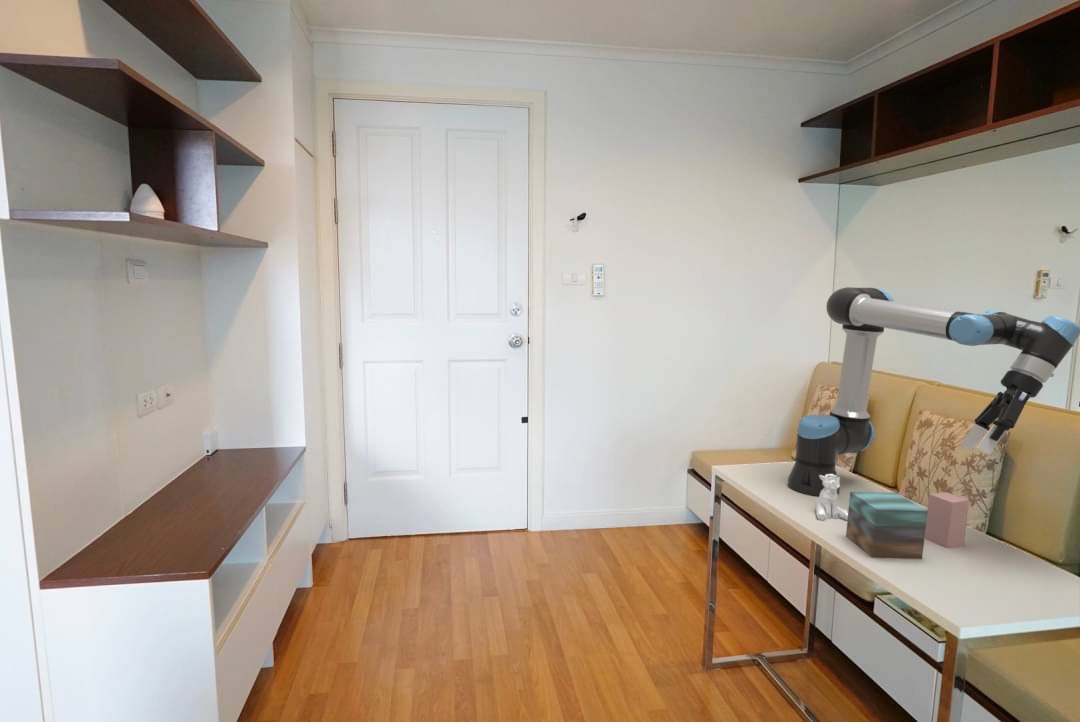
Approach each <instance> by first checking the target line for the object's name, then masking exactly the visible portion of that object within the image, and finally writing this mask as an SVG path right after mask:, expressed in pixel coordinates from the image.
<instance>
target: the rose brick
mask: <svg viewBox="0 0 1080 722" xmlns="http://www.w3.org/2000/svg"><path fill="white" fill-rule="evenodd" d="M969 505H970V499H967V498H965V497H962V496H958V495H957V494H956V495H955V494H953V493H950V492H947V491H943V492H936V493H935V492H934V493H929V494H928V502H927V509H926V510H927V511H928V513H927V521H926V530H925V538H924V540H927V541H929V542H931V543H934V544H936V545H938V546H941V547H942V548H945V549H953V548H957V547H962V546H965V536H966V528H967V523H968V516H969V514H968V513H969Z"/></svg>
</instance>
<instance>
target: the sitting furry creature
mask: <svg viewBox="0 0 1080 722" xmlns="http://www.w3.org/2000/svg"><path fill="white" fill-rule="evenodd" d="M819 477H820V479H821V480H822V481H823V482H822V484H823V486H824V487H825V488H823V490H821V493H820V496H818V498H817V499H816V502H815V510H816V511H815V512H816V516H817V519H818V520H820V521H823V520H825V519H839V518H842V520H844V519H845V520H844V521H848V510H847V509H844V508H841V507H840V505H839V504H838V500H839V497H838V496H839V494H837V489H838V488H839V487H840V488H841V484H840V481H841V480H840V479H841V477H840V476H839V477H838V475H837V476H836V475H834V474H826V475H825V476H822V475H819Z"/></svg>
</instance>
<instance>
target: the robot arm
mask: <svg viewBox="0 0 1080 722" xmlns="http://www.w3.org/2000/svg"><path fill="white" fill-rule="evenodd" d="M825 307H826V308H825V309H826V313H827V315H828V316H829V318H830V319H831V320H832V321H833V322H834V323H837V324H839V325H842V327H841V329H842V331H844V333H845V334H846V336H845V344H844V351H843V356H842V364H841V370H840V377H839V381H838V382H839V383H838V390H837V396H836V404H835V406H833V407H832V408H830V410H829V415H828V414H822V413H821V414H809V415H805V416H803V417H801V418H800V420H799V421H798V425H797V426H798V427H797V429H796V430H797V437H796V450H795V451H796V452H795V463H794V465H793V467H792V469H791V470H790V473H789V475H788V478H787V486H788V487H789V488H790V489H792V490H793V491H795V492H799V493H801V494H805V495H809V496H814V497H815V496H816V497H819V496H820V493H821V490H823V488H825V487H824V486H823V484H822V482H823V481H822V480H821V479H820V477H819V475H822V476H825V475H826V474H834V475H836V476H837V477H838V475H837V470H836V466H837V465H836V463H837V456H839V455H845V454H846V455H847V454H856V453H859V452H862V451H865V450H867V449H868V448H869V447H871V445H872V444H873V443H874V440H875V437H876V433H875V427H874V426H873V423H872V422H871V421H870V419H871V415H870V414H869V412H868V411H867V402H868V396H869V392H870V391H869V390H870V384H871V378H872V372H873V367H874V366H873V364H874V358H875V352H876V346H877V339H878V337H879V336H881V335H882V334H883V333H884V331H885V329H890V330H896V331H901V332H906V333H911V334H917V335H922V336H928V337H933V338H937V339H942V340H943V339H944V340H949V341H953V342H956V343H957V344H959V345H962V346H970V347H971V346H972V347H974V346H975V347H976V346H983V345H985V346H986V345H1002V346H1003V345H1004V346H1007V347H1010V348H1013V349H1014V348H1015V349H1017V350H1020V351H1021V352H1020V353H1019V354H1018V355H1017V357H1016V359H1015V360H1014V361H1013V363H1012V364H1011V366H1010V370H1008V371H1007V372H1006V373H1005V374H1004V376H1002V379H1001V380H1000V384H1001V386H1002V387H1005V388H1006V389H1005V391H1004V392H1002V391H999V392H997V395H995V397H994V398H993V399H992V400H991V402H990V403H989V404H988V405H987V406H985V408H984V409H983V411H981V412H980V414H979V415H978V416H977V417H976V418H975V419H974V425H973V426H972V428H971V429H970V431H968V433H967V435H966V436H965V437H964V438H963V440H962V441H961V443H960V444H959V446H961V447H964V448H965V449H967V450H969V451H970V452H972V451H973V450H975V447H976V449H978V450H980V451H981V452H983V453H986V454H987V455H991V453H992V452H993V451H994V449H995V448H996V447H997V445H998V444H999V443H1000V441H1001V439H1002V438H1003V437H1004V435H1005V434H1006V433H1007V432H1008V431H1009V430H1010V429H1014V428H1015V426H1016V424H1017V422H1018V419H1019V418H1020V415H1021V414H1022V411H1023V409H1024V408H1025V406H1026V404H1027V402H1028V401H1029V399H1032V398H1036V397H1037V396H1038V394H1039V393H1040V391H1041V390H1042V389H1043V387H1044V385H1043V384H1044V383H1047V381H1048V380H1049V379H1050V378H1054V376H1055V374H1054V371H1055V370H1056V369H1057V368H1058V366H1059V364H1060V363H1061V362H1062V361H1063V359H1064V358H1065V357H1066V355H1067V354H1068V353H1069V351H1071V349H1072V348H1073V347H1074V346H1075V343H1076V341H1077V340H1078V338H1079V337H1080V326H1079V324H1077V323H1076V322H1074V321H1072V320H1070V319H1068V318H1065V317H1061V316H1056V315H1055V316H1054V315H1048V316H1046V317H1045V318H1044V319H1043V320H1042V321H1034V320H1030V319H1026V318H1023V317H1019V316H1015V315H1013V314H1010V313H1007V312H1005V311H998V310H993V309H991V310H986V311H985V312H983V313H972V312H966V311H959V310H958V311H957V310H952V309H945V308H944V309H943V308H937V307H931V306H930V307H929V306H923V305H917V304H911V303H904V302H899V301H894V298H893V297H892V295H890V293H889V292H887V291H885V290H884V289H880V288H875V287H854V286H853V287H849V286H847V287H842V288H838V289H837V290H835V291H834V292H833V293H831V294H830V296H829V297H828V300H827V302H826V306H825ZM990 425H992V426H991V427H990ZM983 436H984V437H983ZM978 443H979V444H978ZM840 489H841V486H840V487H839V488H838V489H837V495H839V494H840Z"/></svg>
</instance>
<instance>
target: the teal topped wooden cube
mask: <svg viewBox="0 0 1080 722" xmlns="http://www.w3.org/2000/svg"><path fill="white" fill-rule="evenodd" d="M847 512H848V521H847V520H846V521H847V523H846V530H845V536H846V537H847V538H848V539H849V540H850V539H851V541H852V543H853V544H855V545H857V546H858V547H859V548H860V549H861V548H862V549H863V550H862V549H861V550H862V551H864V552H865V553H866V554H867V555H868V556H869V557H871V558H880V559H881V558H883V559H884V558H885V559H912V560H913V559H920V560H922V559H923V553H924V547H925V539H924V538H925V530H926V521H927V513H928V511H927V509H925V508H924V507H922V506H920V505H918V504H917V503H915V502H913V501H912V500H910V499H908V498H906V497H904V495H901V494H900V493H898V492H881V491H880V492H876V491H875V492H874V491H850V493H849V503H848V510H847Z"/></svg>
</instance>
